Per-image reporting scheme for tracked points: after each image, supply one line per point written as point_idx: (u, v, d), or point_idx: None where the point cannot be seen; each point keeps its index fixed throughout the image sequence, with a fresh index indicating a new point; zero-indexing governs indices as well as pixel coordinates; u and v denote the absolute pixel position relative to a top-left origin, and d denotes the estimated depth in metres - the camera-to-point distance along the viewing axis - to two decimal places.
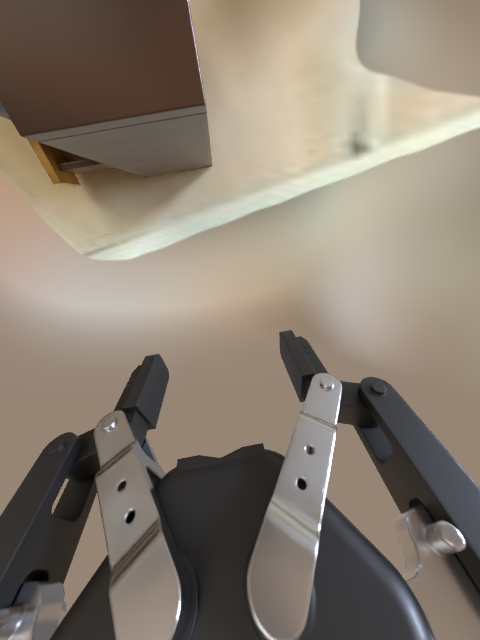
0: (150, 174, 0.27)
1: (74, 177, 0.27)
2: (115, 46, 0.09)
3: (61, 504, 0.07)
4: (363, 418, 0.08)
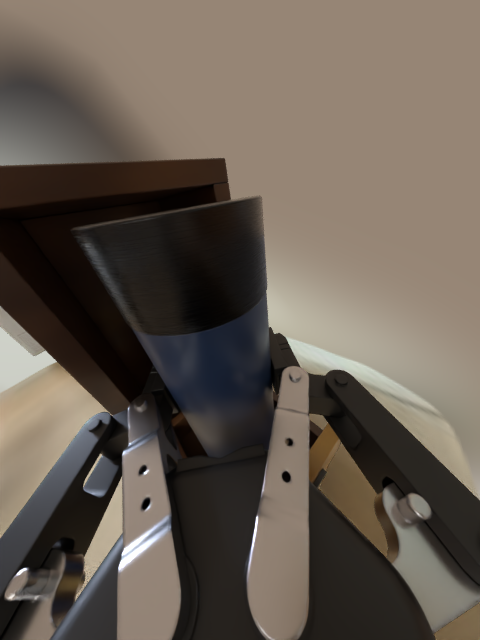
0: None
1: None
2: None
3: (94, 474, 0.08)
4: (329, 408, 0.08)
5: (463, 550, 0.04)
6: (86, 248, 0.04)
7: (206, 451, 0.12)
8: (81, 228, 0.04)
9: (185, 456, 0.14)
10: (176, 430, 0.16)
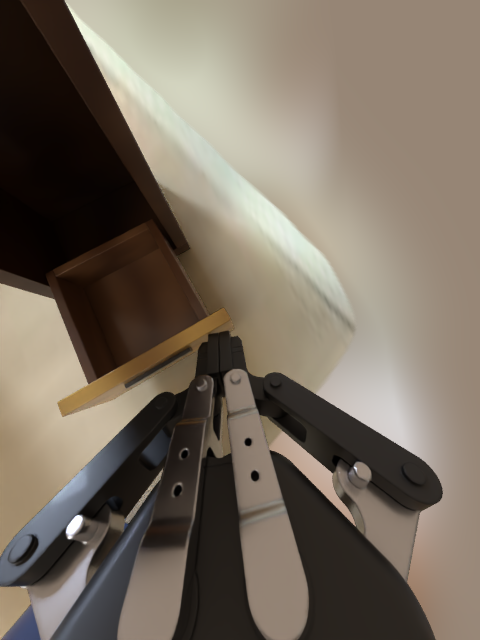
0: None
1: None
2: None
3: (152, 441, 0.09)
4: (266, 409, 0.09)
5: (397, 490, 0.05)
6: None
7: None
8: None
9: (66, 307, 0.13)
10: (67, 279, 0.15)
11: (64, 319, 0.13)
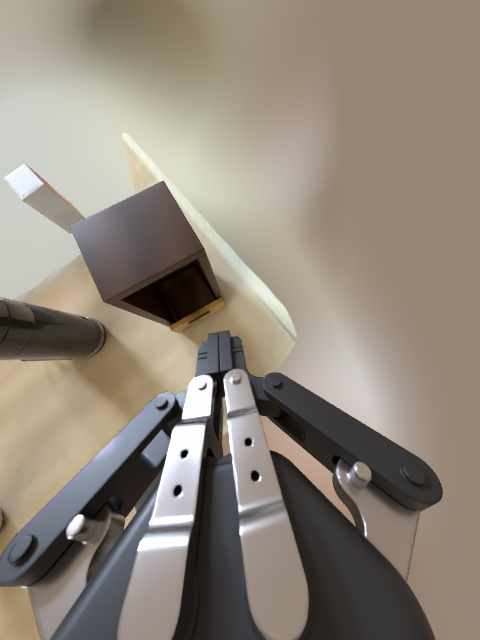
0: None
1: None
2: (159, 213, 0.22)
3: (152, 441, 0.09)
4: (266, 409, 0.09)
5: (397, 490, 0.05)
6: None
7: None
8: None
9: (165, 297, 0.38)
10: (162, 287, 0.40)
11: (165, 301, 0.38)
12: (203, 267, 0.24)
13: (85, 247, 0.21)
